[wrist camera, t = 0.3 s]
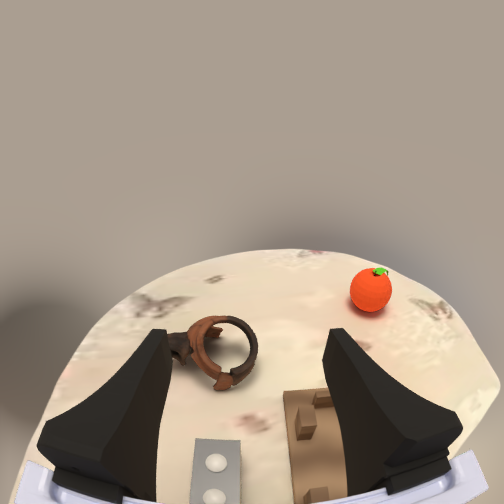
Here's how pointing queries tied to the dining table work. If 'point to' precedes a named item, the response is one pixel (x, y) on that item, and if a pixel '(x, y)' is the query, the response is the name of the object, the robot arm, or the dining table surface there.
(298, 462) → the rack
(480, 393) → the dining table surface
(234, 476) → the power strip
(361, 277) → the clementine
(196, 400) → the dining table surface
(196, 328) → the brown open ring
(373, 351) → the dining table surface
